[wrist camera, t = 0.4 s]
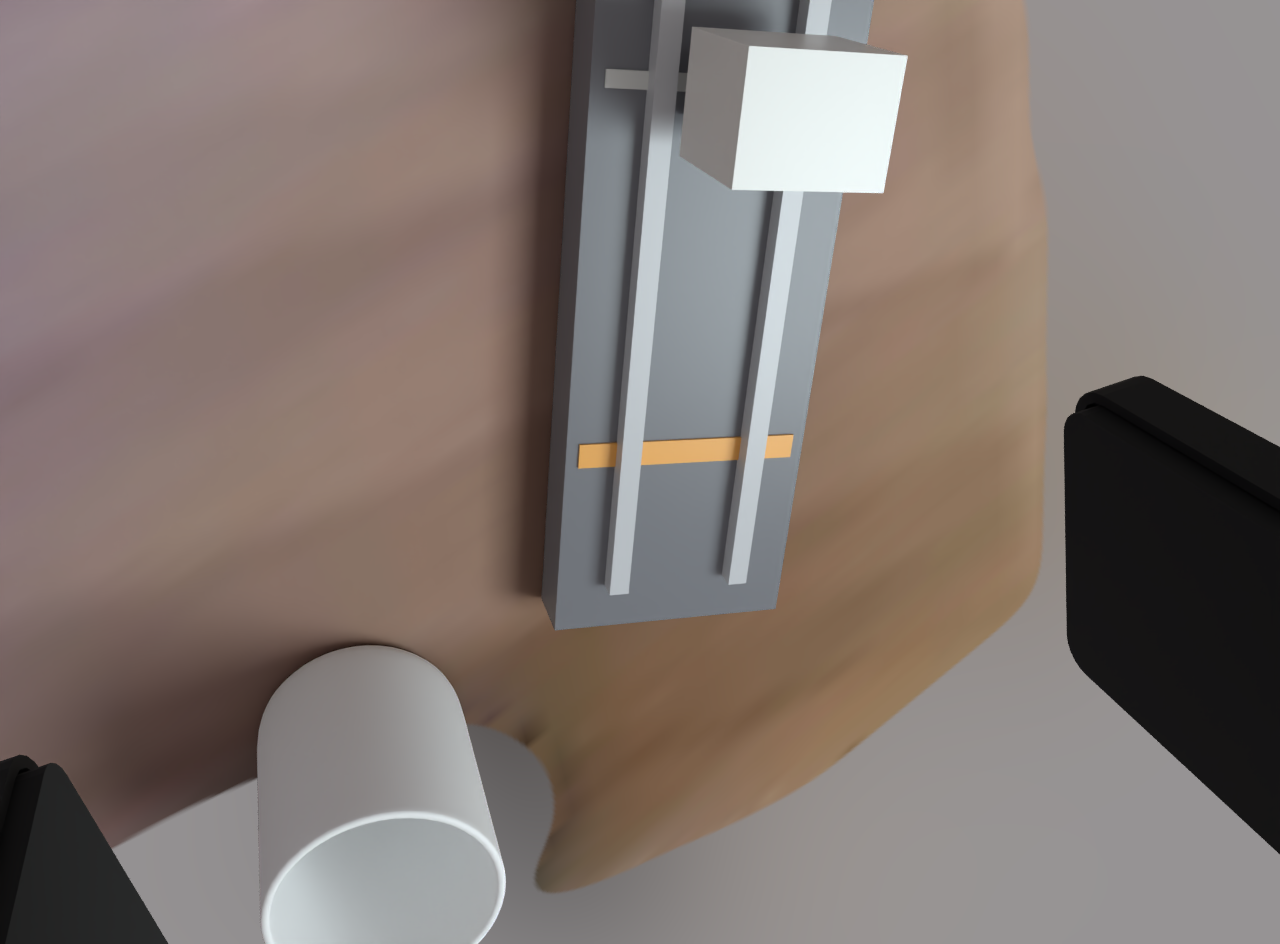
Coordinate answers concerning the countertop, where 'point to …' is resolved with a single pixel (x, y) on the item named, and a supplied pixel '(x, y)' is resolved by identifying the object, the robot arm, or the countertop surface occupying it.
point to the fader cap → (790, 110)
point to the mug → (372, 807)
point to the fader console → (676, 332)
